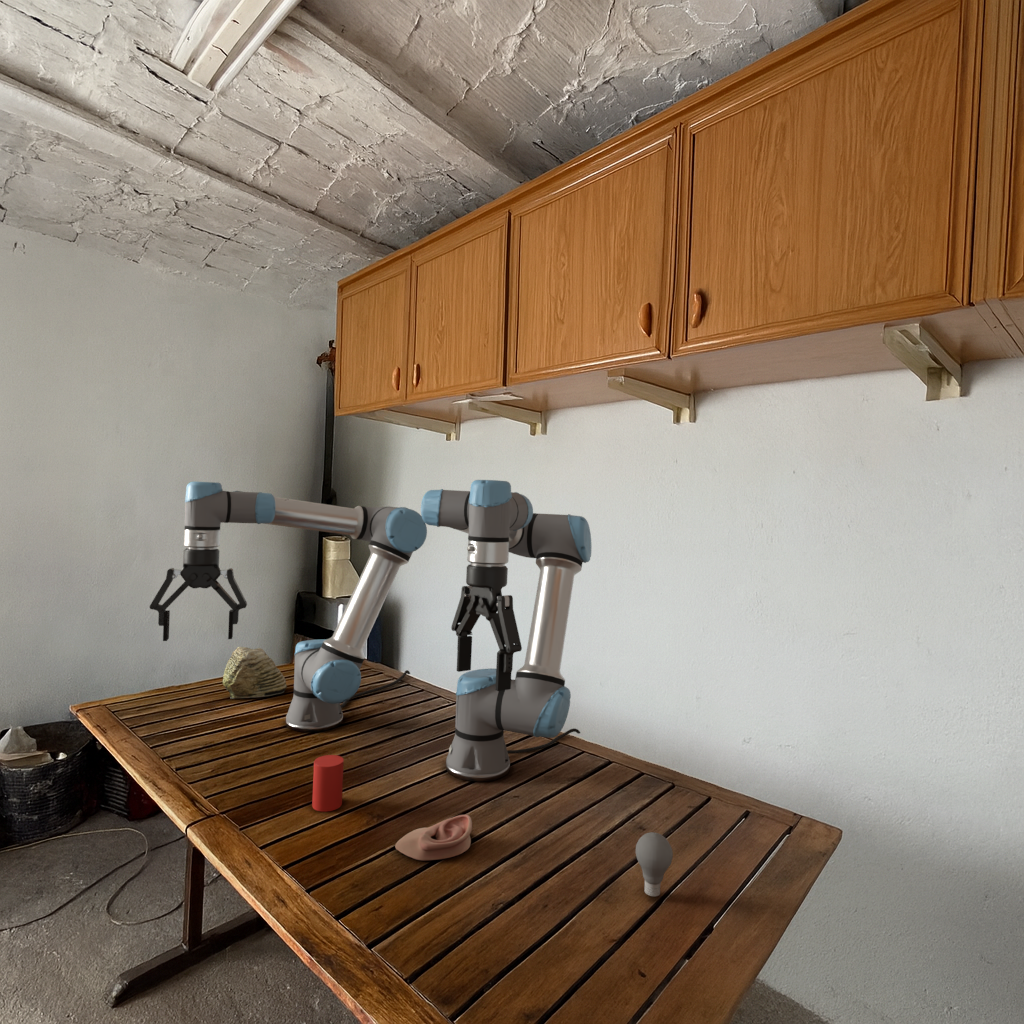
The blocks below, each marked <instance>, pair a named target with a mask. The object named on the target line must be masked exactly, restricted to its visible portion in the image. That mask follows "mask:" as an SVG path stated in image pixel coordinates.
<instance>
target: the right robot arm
mask: <svg viewBox="0 0 1024 1024" xmlns="http://www.w3.org/2000/svg"><path fill="white" fill-rule="evenodd" d="M420 515H421V516H422V519H423V520H424V522H425V524H426V525H427V526H433V527H437V528H440V527H445V528H450V529H453V530H457V531H460V532H462V533H465V534H468V536H467V540H468V541H467V547H466V550H467V557H466V558H467V559H466V560H467V562H469V563H470V564H468V565H467V566H466V577H465V583H466V585H462V586H461V592H460V598H459V602H458V604H457V608H456V611H455V615H454V617H453V620H452V624H451V627H450V628H451V631H452V632H455V635H456V636H457V645H456V646H457V648H456V649H457V653H456V672H458V673H460V672H463V674H461V675H460V676H459V677H458V679H457V685H456V692H455V720H454V721H455V723H454V724H455V725H454V737H453V740H452V742H451V744H450V746H449V748H448V753H447V756H446V759H445V770H446V772H447V773H448V774H449V775H451V776H452V777H454V778H455V779H459V780H461V781H468V782H475V783H476V782H479V783H481V782H491V781H497V780H499V779H501V778H504V777H505V776H506V775H508V774H509V772H510V769H511V760H510V756H509V755H513V754H523V753H529V752H534V751H539V750H542V749H545V748H548V747H550V746H552V745H554V744H555V743H556V742H557V741H559V740H561V739H563V738H565V737H566V736H568V735H570V734H572V733H576V734H581V731H580V730H579V729H578V728H571V729H568V730H567V731H565V732H563V733H562V734H560V733H561V731H562V730H563V728H564V726H565V723H566V722H567V718H568V715H569V711H570V705H571V696H572V695H571V690H570V688H568V687H567V686H565V684H566V679H565V677H564V675H563V674H562V673H561V667H562V660H563V653H564V647H565V642H566V641H565V640H566V635H567V634H566V633H567V627H568V622H569V621H568V620H569V614H570V613H569V612H570V606H571V601H572V594H573V587H574V582H575V581H574V580H575V579H574V578H575V576H576V575H577V574H578V573H580V572H581V571H582V569H583V568H582V567H583V564H586V563H589V562H590V561H591V557H592V534H591V528H590V525H589V521H588V520H587V518H585V517H584V516H581V515H573V514H569V513H568V514H555V513H537V512H534V508H533V504H532V502H531V500H530V499H529V498H528V497H527V496H525V495H524V494H522V493H519V492H517V491H514V492H512V485H511V483H510V482H509V481H508V480H496V479H475V480H473V481H472V482H471V484H470V489H469V490H453V489H443V488H441V489H429V490H427V491H426V492H425V493H424V495H423V497H422V498H421V504H420ZM509 553H510V554H513V555H516V556H520V557H523V558H530V559H535V565H536V566H537V568H538V569H539V570H540V571H539V575H538V582H537V587H536V592H535V593H536V594H535V599H534V604H533V605H534V606H533V611H532V616H531V618H532V619H531V623H530V628H529V634H528V641H527V647H526V653H525V659H524V664H523V666H521V667H520V668H519V669H517V670H516V672H515V677H514V678H515V679H512V672H513V663H514V654H515V653H518V652H521V651H522V649H523V647H522V642H521V639H520V633H519V629H518V625H517V620H516V615H515V611H514V598H513V595H511V594H509V595H508V594H507V595H506V594H505V595H503V594H502V593H503V591H502V589H503V588H504V587H505V588H506V586H507V585H508V573H509V571H508V570H509V568H508V567H507V566H506V564H508V563H509V557H510V554H509ZM481 615H482V617H485V620H486V621H488V622H489V624H490V627H491V630H492V632H493V636H494V638H495V641H496V643H497V646H498V651H497V652H496V664H495V665H496V668H480V669H478V668H477V669H474V670H472V650H473V649H472V648H473V636H472V635H473V632H472V631H473V629H474V627H475V625H476V624H477V622H478V620H479V618H480V617H481ZM505 732H510V733H516V734H521V735H527V736H532V737H536V738H546V739H552V740H551V741H548V742H547V743H544V744H541V745H537V746H533V747H527V748H521V749H508V748H507V744H506V740H505V737H504V733H505ZM559 734H560V735H559Z"/></svg>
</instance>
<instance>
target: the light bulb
mask: <svg viewBox="0 0 1024 1024" xmlns="http://www.w3.org/2000/svg"><path fill="white" fill-rule="evenodd" d="M673 853H674V852H673V848H672V845H671V844H670V842H669V841H668V839H667V838H666V837H665V836H664V835H662V834H661V833H659V832H654V831H652V832H647V833H644V834H643V835H641V837H639V839H638V840H637V842H636V843H635V857H636V860H637V862H638V864H639V866H640V868H641V870H642V877H643V879H644V888H643V890H644V893H645V894H646V895H648V896H650V897H658V896H660V895H661V884H662V882H663V880H664V875H665V873H666V872H667V870H668V869H669V868H670V866H671V864H672V861H673V858H674V857H673V856H674V854H673Z"/></svg>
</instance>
